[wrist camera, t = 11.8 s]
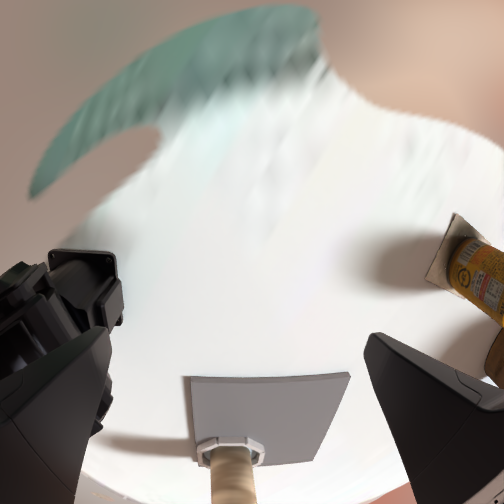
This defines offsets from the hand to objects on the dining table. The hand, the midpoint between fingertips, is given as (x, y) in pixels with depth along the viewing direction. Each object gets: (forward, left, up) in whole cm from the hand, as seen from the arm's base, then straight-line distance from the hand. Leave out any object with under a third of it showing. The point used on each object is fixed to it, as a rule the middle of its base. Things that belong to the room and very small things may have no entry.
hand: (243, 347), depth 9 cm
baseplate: (+5, -23, -13) cm, 27 cm away
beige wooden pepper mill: (+1, -28, -12) cm, 30 cm away
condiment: (+24, -1, -13) cm, 27 cm away
